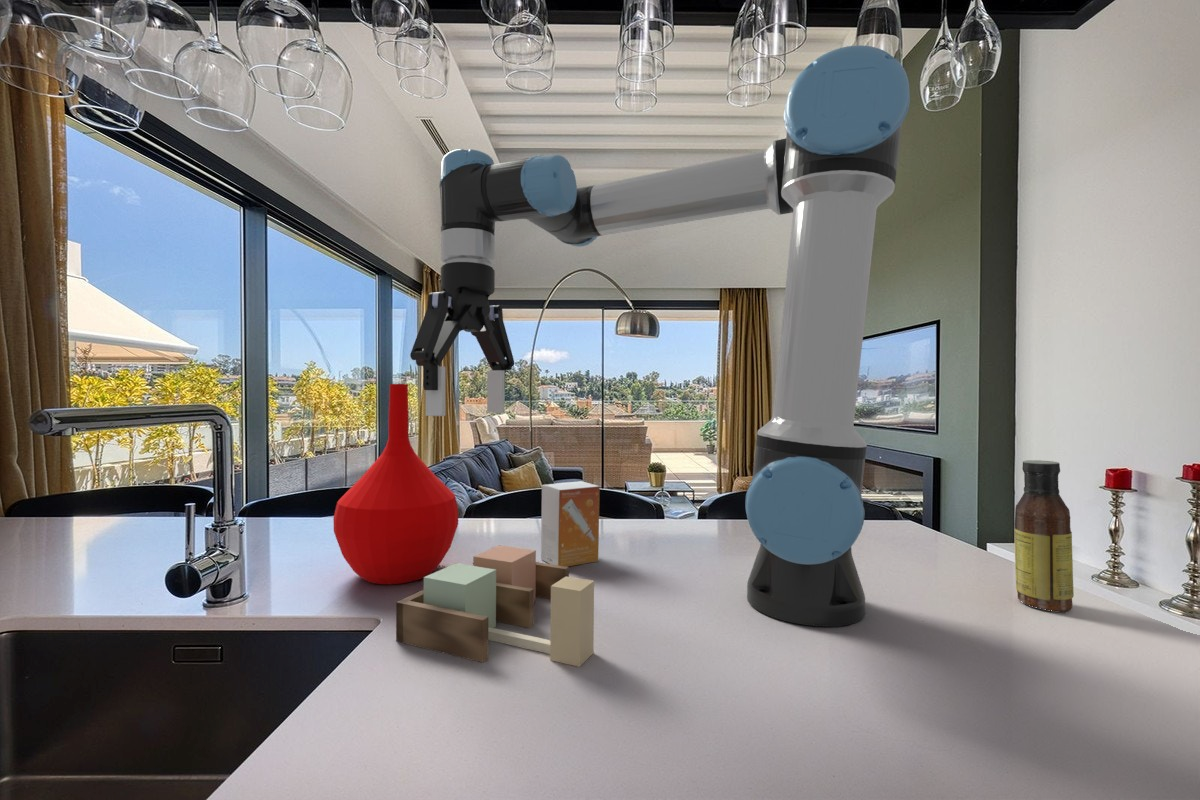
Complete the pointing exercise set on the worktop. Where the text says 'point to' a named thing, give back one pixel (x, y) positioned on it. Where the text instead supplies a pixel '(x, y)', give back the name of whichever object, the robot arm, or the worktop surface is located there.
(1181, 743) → the worktop surface
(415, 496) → the vase
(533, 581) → the terracotta block
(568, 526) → the small box
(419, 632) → the lane rack
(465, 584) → the tethered block
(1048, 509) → the sauce bottle
